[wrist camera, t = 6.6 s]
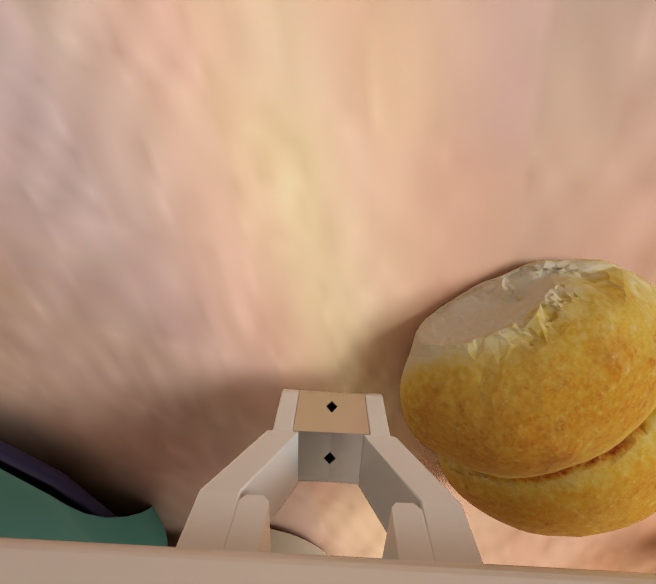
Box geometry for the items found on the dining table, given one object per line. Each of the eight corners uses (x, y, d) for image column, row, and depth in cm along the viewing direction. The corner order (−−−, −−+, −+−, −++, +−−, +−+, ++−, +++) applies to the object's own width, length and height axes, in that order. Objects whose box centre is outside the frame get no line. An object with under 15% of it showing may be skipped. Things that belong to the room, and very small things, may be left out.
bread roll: (467, 491, 14) (515, 615, 10) (359, 339, 11) (371, 432, 7) (677, 413, 12) (835, 531, 8) (611, 204, 9) (807, 234, 5)
